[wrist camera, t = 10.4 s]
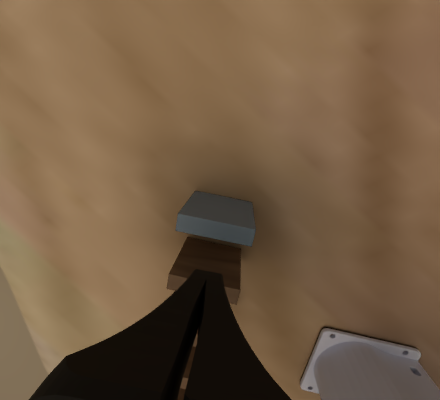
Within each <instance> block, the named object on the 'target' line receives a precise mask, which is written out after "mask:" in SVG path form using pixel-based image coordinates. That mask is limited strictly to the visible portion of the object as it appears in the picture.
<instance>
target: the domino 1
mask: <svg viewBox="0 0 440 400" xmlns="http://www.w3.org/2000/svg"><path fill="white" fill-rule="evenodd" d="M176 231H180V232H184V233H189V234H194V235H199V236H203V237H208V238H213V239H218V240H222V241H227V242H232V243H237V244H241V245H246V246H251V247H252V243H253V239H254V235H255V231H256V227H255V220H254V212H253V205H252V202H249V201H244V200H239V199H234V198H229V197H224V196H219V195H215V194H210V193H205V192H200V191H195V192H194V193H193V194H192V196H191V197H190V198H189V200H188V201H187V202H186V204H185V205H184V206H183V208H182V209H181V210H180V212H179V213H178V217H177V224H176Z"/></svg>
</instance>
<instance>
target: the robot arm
mask: <svg viewBox="0 0 440 400" xmlns="http://www.w3.org/2000/svg"><path fill="white" fill-rule="evenodd" d="M198 328H199V329H198ZM197 331H198V338H197V345H196V349H195V353H194V357H193V361H192V365H191V369H190V373H189V377H188V381H187V385H186V389H185V393H184V400H291V399H290V397H289V396H288V395H287V394H286V393H285V392H284V391H283V390H282V389H281V387H280V386H279V385H278V384H277V383H276V382H275V381H274V380H273V378H272V377H271V376H270V374H269V373H268V372H267V371H266V369H265V368H264V367H263V365H262V364H261V362H260V361H259V359H258V358H257V356H256V355H255V353H254V352H253V350H252V349H251V347H250V346H249V344H248V342H247V340H246V339H245V337H244V335H243V333H242V331H241V329H240V327H239V325H238V323H237V321H236V319H235V316H234V314H233V312H232V309H231V306H230V304H229V301H228V298H227V294H226V291H225V287H224V282H223V275H222V274H220V273H215V272H209V271H204V270H199V269H195V270H194V271H193V272H192V273H191V275H190V276H189V277H188V278H187V280H186V281H185V282H184V283H183V284H182V285H181V286H180V287H179V288H178V289H177V290H176V291H175V292H174V293H173V294H172V295H171V296H170V297H169V298H168V299H167V300H165V301H164V302H163V303H162V304H161V305H160V306H158V307H157V308H156V309H155V310H153V311H152V312H151V313H149V314H148V315H146V316H145V317H144V318H142V319H141V320H139V321H137V322H136V323H134V324H133V325H131V326H130V327H128V328H126V329H125V330H123V331H121V332H119V333H117V334H115V335H113V336H112V337H110V338H108V339H106V340H104V341H101V342H99V343H97V344H95V345H92V346H90V347H88V348H85V349H83V350H80V351H78V352H75V353H73V354H70V355H68V356H66V357H65V358H64V359H63V360H62V361H61V362H60V363H59V364H58V365H57V366H56V367H55V369H54V370H53V371H52V372H51V373H50V374H49V375H48V376H47V378H46V379H45V380H44V381H43V383H42V384H41V385H40V386H39V388H38V389H37V390H36V391H35V393H34V394H33V395H32V396H31V398H30V399H29V400H177V399H178V395H179V391H180V386H181V383H182V379H183V375H184V372H185V369H186V366H187V363H188V360H189V356H190V353H191V350H192V347H193V344H194V341H195V337H196V334H197ZM331 334H333V335H331ZM420 357H421V353H420V351H419V350H418V349H416V348H412V347H408V346H403V345H399V344H395V343H390V342H386V341H382V340H377V339H373V338H368V337H364V336H360V335H355V334H351V333H347V332H342V331H338V330H334V329H329V328H324V329H322V331H321V333H320V335H319V338H318V340H317V343H316V345H315V347H314V350H313V352H312V355H311V357H310V360H309V362H308V365H307V367H306V369H305V372H304V374H303V377H302V379H301V382H300V386H301V388H302V389H303V390H306V391H310V392H314V393H319V394H320V397H321V400H440V389H439V388H438V387H437V386H436V384H435V383H434V382H433V380H432V379H431V378H430V376H429V375H428V374H427V372H426V371H425V370H424V368H423V367H422V366H421V364H420V363H419V362H418V360H419V358H420Z"/></svg>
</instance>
